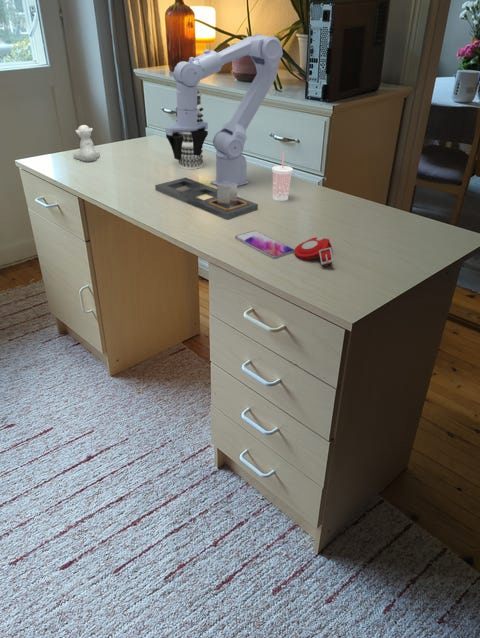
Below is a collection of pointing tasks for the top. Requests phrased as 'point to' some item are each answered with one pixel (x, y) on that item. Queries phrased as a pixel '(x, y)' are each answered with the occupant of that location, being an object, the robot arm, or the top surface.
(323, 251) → the tracker holder
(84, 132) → the white creature statuette
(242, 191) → the top surface
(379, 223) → the top surface
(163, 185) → the rail
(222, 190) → the block
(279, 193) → the beverage cup
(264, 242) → the smartphone
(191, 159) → the decorative candle
